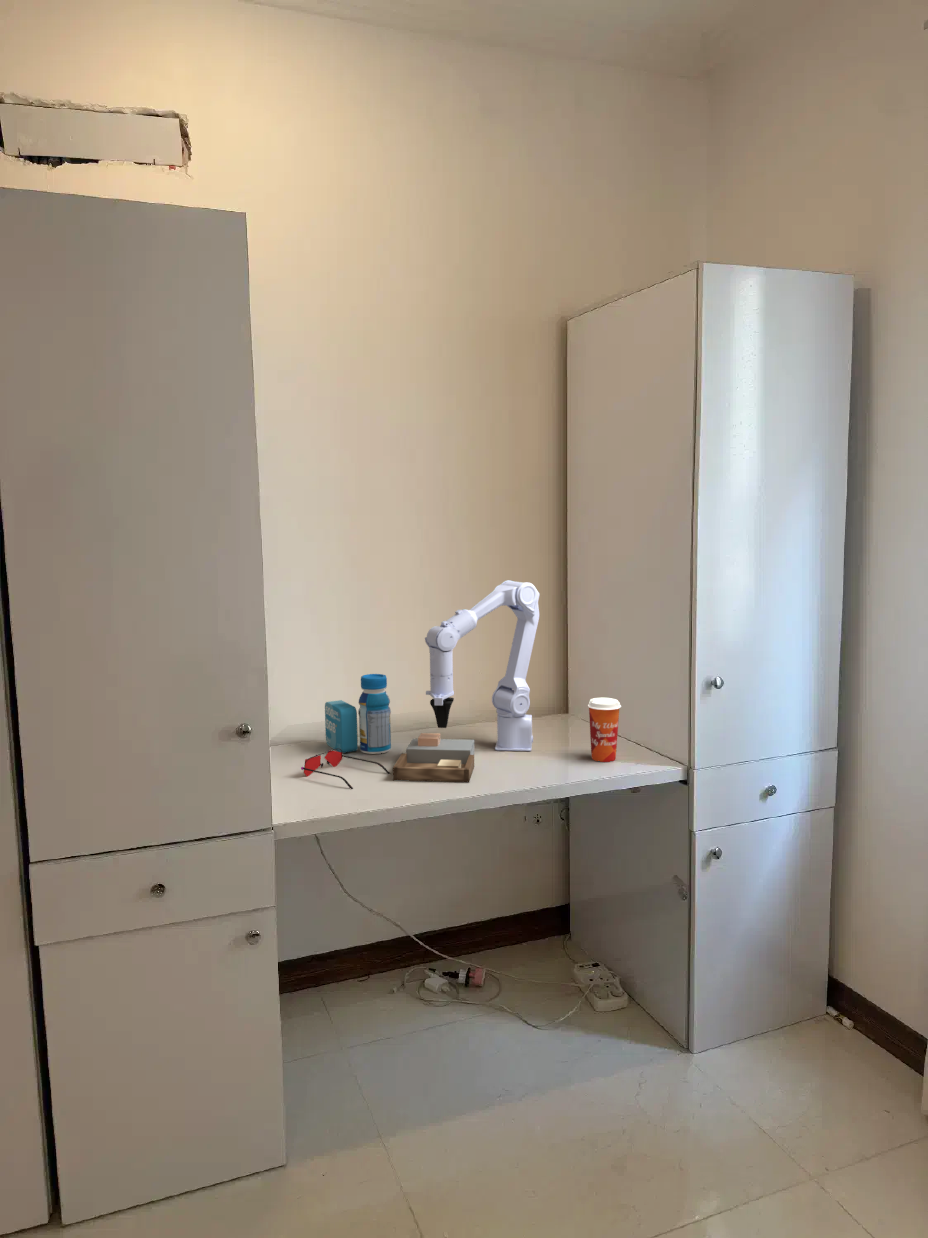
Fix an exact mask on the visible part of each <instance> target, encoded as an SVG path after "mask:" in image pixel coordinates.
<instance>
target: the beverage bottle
mask: <svg viewBox="0 0 928 1238" xmlns="http://www.w3.org/2000/svg"><path fill="white" fill-rule="evenodd" d="M387 679H388V678H387V675H386V674H383V673H382V674H381V673H370V674H368V673H367V674H363V675H362V676H361V677H360V687H361V690H362V692H361V694H360V696H359V699H358V705H359V709H358V711H357V715H358V722H359V723H358V724H359V727H358V728H359V750H360V752H361V753H363V754H367V755H381V753H382V754H385V753H388V752H390V751H391V749H392V744H391V735H392V734H391V733H392V732H391V714H392V711H391V707H390V703H391V699H390V695H388V692H387V691H386V689H387V686H388V680H387Z"/></svg>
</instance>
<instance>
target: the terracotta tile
mask: <svg viewBox="0 0 928 1238" xmlns="http://www.w3.org/2000/svg"><path fill="white" fill-rule="evenodd" d="M417 739H418V746H438V745H439V743H440V739H441V733H435V732H433V733H427V732H426V733H425V732H423V733H422V732H421V733H420V735H419V736H418V738H417Z"/></svg>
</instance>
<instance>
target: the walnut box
mask: <svg viewBox="0 0 928 1238" xmlns="http://www.w3.org/2000/svg"><path fill="white" fill-rule="evenodd" d="M437 765H438V763H407V753H406V752H405V753H403V752H402V753H401V754H400V755H399V757H398V759H397V760H396V761H395V763H394V765H393V767H392V781H394V780H409V782H438V783H439V782H440V783H442V782H444V783H446V782H447V783H470V782H471V778H472V774H473V772H474V769H475V754H474V755H469V757H468V760H467V763H466V764H461V768H437Z"/></svg>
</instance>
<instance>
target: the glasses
mask: <svg viewBox="0 0 928 1238" xmlns="http://www.w3.org/2000/svg"><path fill="white" fill-rule="evenodd" d="M336 750H337V749H329V750H327V751H325V752H321V753H319V754H315V755H313V756H310V757H309V758H306V759H305V760H304V764H303V765H304V766H300V770H302V771H303V774H304V775H305V777H309V776H310V775H312V774H313V773H318V774H322V775H327V776H330V777H336V778H338V779H341V780H343V782H344V783H345V784H346V786H348V788H349V789H350V788H351V789H350V790H354V788H353V786H352V785H351V784H350V783H349V782H348V781H347V780H346V779H345V778H344V777H343V776H341V775H337V774H332V773H327V772H323V771H318V768H320V769H321V768H323V767H324V762H321V760H322V755H324V754H326V755H325V756H324V758H323V759H325V761H326V764H327V765H328V766H331V767H332V768H335V767H337V766H338V765H339V764H341V763H340V762H341V761H342V760H343V758H347V759H352V760H357V761H360V762H361V761H362V762H367V763H372V764H375V765H378V766H379V767H381V768H382V770H384V771H385V773H386V774H387V775H391V772H390V771H389V770H388V769H387V768H386V767H384V766H383V765H382V764H381V763H379V762H377V761H371V760H368V759H363V758H358V757H355V756H354V757H353V756H349V755H345V754H344V753H342V750H341V749H339V750H341V752H338V751H336Z"/></svg>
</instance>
